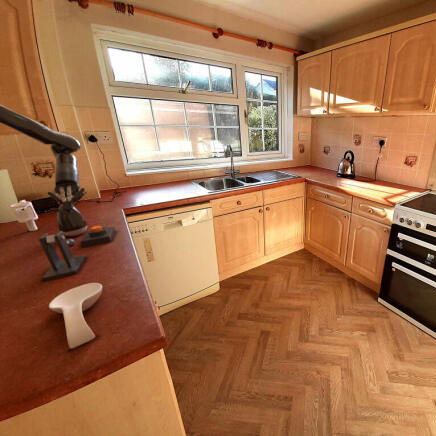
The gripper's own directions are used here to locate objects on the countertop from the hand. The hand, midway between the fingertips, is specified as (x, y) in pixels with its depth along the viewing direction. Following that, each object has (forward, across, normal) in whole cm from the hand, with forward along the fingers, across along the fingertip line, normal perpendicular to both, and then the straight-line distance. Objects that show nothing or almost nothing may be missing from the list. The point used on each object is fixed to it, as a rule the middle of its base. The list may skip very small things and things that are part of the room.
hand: (68, 210), depth 100 cm
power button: (+6, +6, +10) cm, 13 cm away
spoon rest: (+49, +12, -27) cm, 58 cm away
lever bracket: (+26, 0, -4) cm, 26 cm away
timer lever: (+18, 0, -6) cm, 19 cm away
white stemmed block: (-12, -28, +35) cm, 47 cm away
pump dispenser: (0, -6, +22) cm, 23 cm away
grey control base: (+9, +6, +13) cm, 17 cm away
